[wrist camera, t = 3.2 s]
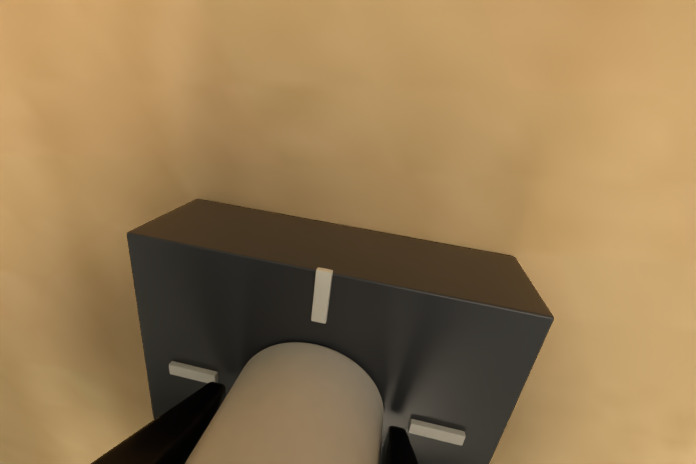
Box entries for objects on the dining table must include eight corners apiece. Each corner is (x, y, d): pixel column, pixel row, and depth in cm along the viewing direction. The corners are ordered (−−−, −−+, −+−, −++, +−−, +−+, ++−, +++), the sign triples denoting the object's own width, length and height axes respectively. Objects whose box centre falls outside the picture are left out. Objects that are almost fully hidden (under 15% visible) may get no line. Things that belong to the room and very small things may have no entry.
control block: (516, 252, 10) (560, 318, 7) (448, 441, 13) (458, 540, 10) (197, 195, 11) (119, 230, 8) (207, 382, 14) (154, 455, 11)
